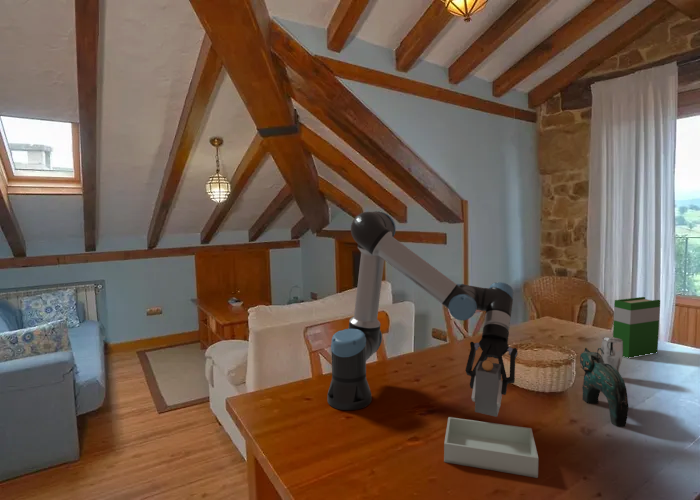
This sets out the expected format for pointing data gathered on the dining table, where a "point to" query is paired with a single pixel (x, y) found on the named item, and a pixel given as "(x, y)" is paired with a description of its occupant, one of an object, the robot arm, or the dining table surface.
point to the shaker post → (487, 389)
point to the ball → (487, 365)
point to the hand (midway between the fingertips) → (485, 402)
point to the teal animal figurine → (604, 385)
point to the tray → (491, 446)
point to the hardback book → (637, 325)
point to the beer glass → (612, 351)
